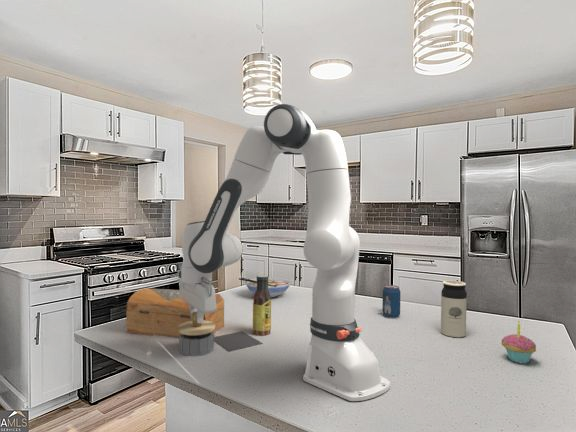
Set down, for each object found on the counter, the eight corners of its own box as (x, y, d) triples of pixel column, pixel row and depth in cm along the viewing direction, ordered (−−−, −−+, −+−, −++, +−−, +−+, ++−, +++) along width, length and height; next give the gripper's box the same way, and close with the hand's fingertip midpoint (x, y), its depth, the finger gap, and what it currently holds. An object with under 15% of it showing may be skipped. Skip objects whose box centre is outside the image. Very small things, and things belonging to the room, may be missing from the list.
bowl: (219, 352, 111) (219, 335, 111) (186, 359, 105) (186, 342, 105) (206, 342, 119) (206, 326, 119) (175, 348, 114) (175, 332, 113)
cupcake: (536, 368, 102) (537, 325, 101) (500, 361, 106) (501, 320, 106) (535, 358, 109) (536, 317, 109) (501, 352, 113) (502, 312, 113)
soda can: (399, 314, 153) (399, 285, 152) (401, 319, 146) (401, 288, 146) (381, 313, 154) (382, 284, 154) (382, 318, 147) (383, 287, 147)
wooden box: (226, 327, 135) (226, 289, 135) (204, 342, 119) (204, 299, 119) (155, 319, 144) (155, 283, 143) (125, 333, 128) (125, 293, 127)
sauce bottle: (268, 337, 124) (268, 278, 124) (250, 336, 125) (250, 277, 125) (273, 331, 130) (273, 274, 130) (255, 329, 132) (256, 273, 131)
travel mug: (442, 328, 135) (443, 279, 134) (466, 332, 131) (467, 281, 130) (439, 335, 128) (440, 283, 127) (464, 339, 124) (465, 285, 123)
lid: (221, 330, 111) (221, 314, 111) (185, 338, 105) (185, 320, 104) (206, 321, 120) (206, 305, 120) (172, 327, 114) (172, 311, 113)
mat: (263, 344, 118) (263, 343, 118) (228, 353, 111) (228, 351, 111) (242, 332, 129) (242, 331, 129) (209, 339, 122) (209, 337, 122)
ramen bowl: (302, 296, 181) (302, 280, 181) (268, 305, 164) (268, 287, 164) (267, 288, 198) (267, 273, 198) (233, 296, 181) (233, 279, 181)
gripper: (221, 279, 105) (221, 328, 106) (194, 269, 122) (194, 311, 122) (200, 282, 102) (200, 332, 102) (175, 270, 118) (175, 314, 119)
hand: (196, 320), depth 112 cm, fingers closed on lid, 3 cm apart
